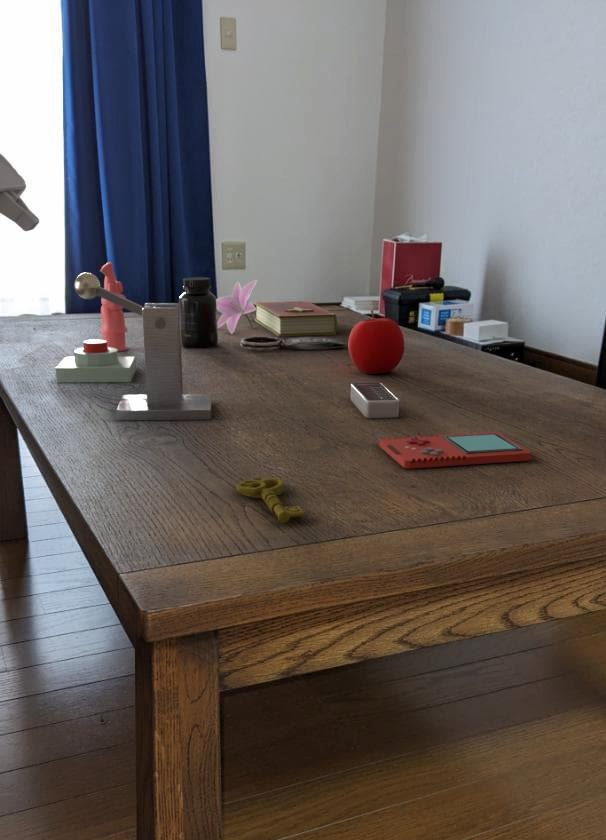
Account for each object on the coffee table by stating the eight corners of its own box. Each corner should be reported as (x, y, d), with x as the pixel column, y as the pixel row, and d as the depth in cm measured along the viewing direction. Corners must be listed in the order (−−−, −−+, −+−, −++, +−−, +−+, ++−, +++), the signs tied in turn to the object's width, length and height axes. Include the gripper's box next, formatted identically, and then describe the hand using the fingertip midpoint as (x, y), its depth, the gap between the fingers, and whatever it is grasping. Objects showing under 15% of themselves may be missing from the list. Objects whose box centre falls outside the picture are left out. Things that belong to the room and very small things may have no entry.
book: (307, 318, 198) (307, 299, 196) (336, 334, 179) (337, 312, 178) (254, 320, 195) (254, 300, 193) (278, 336, 176) (278, 314, 174)
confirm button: (82, 355, 137) (81, 343, 136) (85, 350, 140) (85, 339, 139) (106, 354, 137) (105, 343, 136) (109, 350, 140) (108, 339, 140)
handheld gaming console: (378, 436, 105) (496, 429, 108) (378, 446, 105) (496, 439, 109) (405, 459, 97) (532, 451, 100) (405, 469, 97) (531, 461, 101)
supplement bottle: (197, 340, 170) (195, 275, 166) (225, 344, 167) (224, 277, 162) (173, 345, 165) (170, 278, 161) (200, 350, 162) (198, 281, 157)
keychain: (347, 350, 163) (347, 339, 162) (242, 352, 160) (242, 341, 159) (338, 343, 170) (339, 332, 169) (238, 345, 167) (237, 334, 166)
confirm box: (56, 382, 135) (54, 356, 134) (66, 370, 144) (64, 345, 142) (130, 382, 136) (128, 355, 135) (136, 370, 145) (134, 345, 143)
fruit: (351, 365, 150) (353, 304, 146) (405, 368, 149) (409, 306, 145) (342, 376, 142) (344, 311, 138) (399, 379, 140) (403, 314, 136)
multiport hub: (366, 418, 117) (367, 401, 117) (349, 399, 127) (350, 382, 127) (399, 417, 118) (400, 400, 117) (380, 398, 128) (380, 382, 127)
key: (308, 509, 81) (253, 513, 80) (307, 522, 82) (254, 527, 80) (278, 472, 92) (230, 475, 91) (278, 484, 92) (230, 487, 91)
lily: (214, 329, 190) (197, 290, 183) (265, 306, 190) (249, 266, 183) (227, 356, 181) (210, 317, 174) (280, 332, 181) (265, 292, 175)
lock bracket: (116, 420, 115) (109, 310, 110) (124, 403, 123) (117, 301, 118) (210, 419, 116) (207, 310, 111) (211, 403, 124) (208, 301, 119)
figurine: (120, 352, 158) (114, 264, 153) (94, 350, 160) (88, 263, 154) (134, 348, 163) (129, 261, 157) (109, 346, 164) (103, 260, 159)
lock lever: (68, 293, 112) (77, 269, 111) (72, 290, 114) (81, 267, 113) (166, 338, 114) (175, 315, 114) (167, 334, 117) (177, 311, 116)
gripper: (-74, 113, 95) (31, 211, 99) (-22, 122, 114) (65, 203, 118) (-109, 159, 96) (-4, 253, 101) (-52, 160, 115) (34, 239, 119)
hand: (33, 226), depth 109 cm, fingers closed
